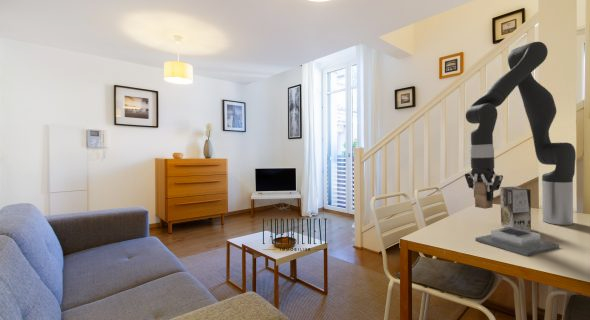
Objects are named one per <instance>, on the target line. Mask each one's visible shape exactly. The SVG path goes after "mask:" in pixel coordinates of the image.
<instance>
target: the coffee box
mask: <svg viewBox="0 0 590 320" xmlns="http://www.w3.org/2000/svg"><path fill="white" fill-rule="evenodd" d="M499 191H500V193H499V194H500V224H501V226H503V228H506V227H512V228H516V229H521V230H525V231H530V232H532V218H531V217H532V211H531V209H532V207H531V206H532V205H531V204H532V203H531V202H532V201H531V199H532V198H531V193H532V192H531V189H530V188H526V187H519V186H500V187H499Z"/></svg>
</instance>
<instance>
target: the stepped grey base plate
mask: <svg viewBox="0 0 590 320" xmlns="http://www.w3.org/2000/svg"><path fill="white" fill-rule="evenodd" d="M474 240H475V242H478V243H483V244H484V245H489V246H492V247H495V248H499V249H502V250H505V251H509V252H513V253H516V254H519V255H522V256H526V257H529V256H533V255H536V254H540V253H544V252H548V251H551V250H556V249H559V247H560V244H558V243H555V242H550V241H546V240H541V233H538V232H534V231H525V230H521V229H516V228H512V227H501V228H497V229H492V230H491V231H490V234H487V235H483V236H479V237H478V236H477V237H475V239H474Z"/></svg>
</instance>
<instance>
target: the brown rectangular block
mask: <svg viewBox="0 0 590 320" xmlns="http://www.w3.org/2000/svg"><path fill="white" fill-rule="evenodd" d="M474 183H475V198H474V205H475V206H474V207H475V208H479V209H485V210H486V209H490V208H493V207H494V206H493V200H492V201H487V192H488V191H487V190H486V185H485V183H484V182H474ZM488 183H490V182H488ZM489 186H490V185H489Z"/></svg>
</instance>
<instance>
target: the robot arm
mask: <svg viewBox="0 0 590 320" xmlns="http://www.w3.org/2000/svg"><path fill="white" fill-rule="evenodd" d="M548 52H549V51H548V47H547V45H546V44H545V43H544V42H542V41H534V42H530V43H527V44H524V45H521V46H519V47H516V48H514V49H511V50H510V51H509V53H508V55H507V63H508V67H509V70H508V71H507V72H506V73H504V74H503V75H502V76H500V77H499V78H498V79H497V80H495V81H494V82H493V84H491V86H490V87H489V88H488V90H487V91H486V92H484V94H483V95H482V96H480V97H479V98H478V99H477V100H476V101H474V102H473V103H472V104H471V105H470V106H469V107H468V108H467V110H466V113H465V120H466V121H467V122H468V123H469V124H478V128H477V129H474V130H472V131H471V132H470V168H471V172H469V173H468V172H467V173H464V178H465V180H466V183H467V185H468V186H467V187H468V188H469V189H472V190H473V198H474V199H475V183H474V182H484V183H485V185H486V190H487V191H488V192H487V201H492V202H493V200H494V192H495V191H498V190H499V191H500V187H501V184H502V183H503V182H502V181H503V179H504V176H503V175H502V174H501V175H500V174H498V173H495V170H494V169H495V147H494V140H493V137H494V136H493V134H494V130H495V127H496V123H497V119H498V109H497V108H498V107H499V106H501V105H502V104H503V103H504V102H505V101H506V99H507V98H508V97H509V96H510V94H512V92H513V91H515V89H516V88H517V89H518V91H519V93H520V97H521V100H522V104H523V107H524V110H525V114H526V118H527V119H528V123H529V126H530V130H531V134H532V140H533V144H534V145H533V147H534V150H535V151H534V152H535V155H536V158H537V161H538V162H539V163H540V164H542V165H546V166H547V165H548V166H549V165H551V166H555V169H554V170H552V171H549V172H547V173H546V172H545V173H543V174H542V176H541V180H542V181H541V184H542V192H541V193H542V195H541V197H542V198H541V200H542V221H543V222H544V223H548V224H550V225H551V224H552V225H553V224H554V225H557V226H558V225H559V226H569V225H570V226H571V225H574V176H575V172H576V171H575V170H576V158H577V157H576V156H577V155H576V149H575V146H574V145H573V144H572V143H570V142H552V141H551V139H550V128H551V126H552V123H553V121H554V119H555V118H556V114H557V106H556V103H555V100H554V97H553V94H552V93H551V92H550V91H549V90H548V89H547V88H545V86H543V85H541V84H540V83H539V82H538V81H537V80H536V79H535V78H534V76H533V74H532V72H534V70H536V69H537V68H538V67H539V66H540V65H541V64H543V63H544V62H545V60H547V57H548ZM488 182H490V183H488ZM489 185H490V186H489Z"/></svg>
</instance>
